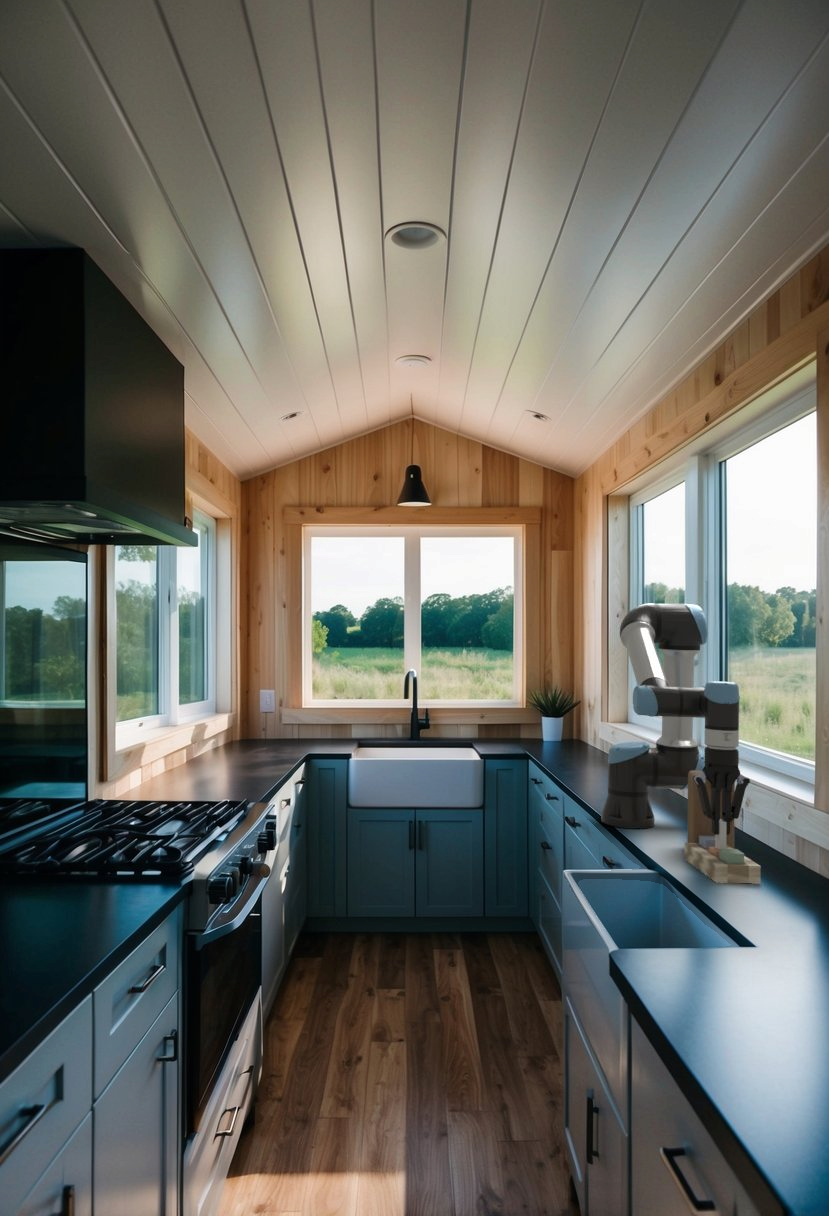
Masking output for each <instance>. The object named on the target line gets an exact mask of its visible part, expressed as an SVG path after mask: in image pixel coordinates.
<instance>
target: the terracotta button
mask: <svg viewBox="0 0 829 1216" xmlns="http://www.w3.org/2000/svg"><path fill="white" fill-rule="evenodd" d="M726 849H727V848H726ZM709 853H710V854H712V855H713V856H719V849H718V848H716V847H709Z"/></svg>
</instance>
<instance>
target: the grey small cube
mask: <svg viewBox="0 0 829 1216" xmlns="http://www.w3.org/2000/svg"><path fill="white" fill-rule="evenodd" d="M699 846H700V847H702V848H703V849H709V847H715V836H699Z"/></svg>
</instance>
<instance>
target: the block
mask: <svg viewBox="0 0 829 1216" xmlns="http://www.w3.org/2000/svg"><path fill="white" fill-rule="evenodd" d="M701 773H702V771H696V770H692V771H689V773H688V789H687V838H686V839H687V842H686V843H699V836H715V834H713V833H712V820H711V819H710V818H708V817H706V816H705V815H704V814H703V810H702V805H701V801H700V796H699V792H698V788H697V785H696V783H695V782H694V780H693V776H698V775H699V774H701ZM705 780H706V782H705V783H704V784H705V786H706V789H707V793H708V798H709V802H710V806H711V788H710V783H709V782H708V780H707V779H706V778H705ZM735 783H736V781H735V782H734V784H733V785H732V792H731V805H732V800H733V796H734V792H735V788H736V784H735ZM720 819H722V820H723V818H722V789H721V792H720ZM726 845H728V846H730V847H731V848H733V849H735V819H732V822H730V834H729V835H726Z"/></svg>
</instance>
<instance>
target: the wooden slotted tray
mask: <svg viewBox="0 0 829 1216" xmlns="http://www.w3.org/2000/svg"><path fill="white" fill-rule="evenodd" d="M726 848H727V849H733V848H731V847H730V846H728V845H726ZM685 859H686V860H687V861H686V860H685ZM684 860H685V861H686V862H687V863H689V864H690V863H691V864H692V865H691V864H690V865H691V866H693V865H694V866H695V867H696V868H695V867H694V866H693V867H694V868H695V869H697V870H698V869H699V870H700V871H701V872H700V871H699V870H698V871H699V872H700V873H702V872H703V873H704V874H705V876H706V875H707V876H708V877H709V878H708V877H707V876H706V877H707V878H708V879H710V878H711V879H712V880H713V881H715V882H716V883H715V882H714V883H715V884H719V883H718V882H721V883H720V884H724V883H752V884H751V885H761V876H762V874H761V868H762V867H761V865H760V864H758V863H757V862H755V861H753V860H752V859H751V858H749V857H747V856H746V855H744V864H725V863H723V862H722V861H721V860H719V856H713V855H712V854H710V853H709V849H703V848H702V847H700V846H699V843H687V842H684ZM703 873H702V874H703ZM704 874H703V875H704ZM711 879H710V880H711ZM712 880H711V881H712ZM713 881H712V882H713ZM753 883H754V884H753Z"/></svg>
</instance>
